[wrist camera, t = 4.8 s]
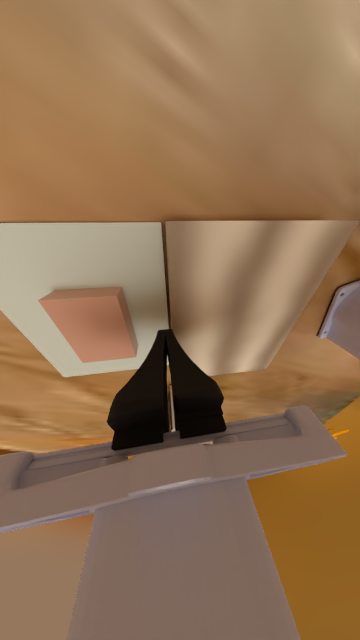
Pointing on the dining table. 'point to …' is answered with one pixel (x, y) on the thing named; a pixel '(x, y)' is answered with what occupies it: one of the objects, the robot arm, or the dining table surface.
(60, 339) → the mat
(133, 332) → the block
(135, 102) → the dining table surface
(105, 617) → the robot arm
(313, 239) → the block
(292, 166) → the dining table surface
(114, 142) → the dining table surface
